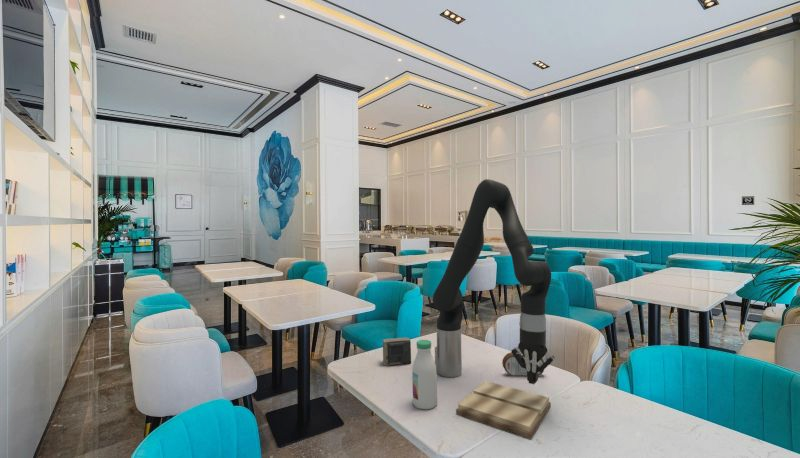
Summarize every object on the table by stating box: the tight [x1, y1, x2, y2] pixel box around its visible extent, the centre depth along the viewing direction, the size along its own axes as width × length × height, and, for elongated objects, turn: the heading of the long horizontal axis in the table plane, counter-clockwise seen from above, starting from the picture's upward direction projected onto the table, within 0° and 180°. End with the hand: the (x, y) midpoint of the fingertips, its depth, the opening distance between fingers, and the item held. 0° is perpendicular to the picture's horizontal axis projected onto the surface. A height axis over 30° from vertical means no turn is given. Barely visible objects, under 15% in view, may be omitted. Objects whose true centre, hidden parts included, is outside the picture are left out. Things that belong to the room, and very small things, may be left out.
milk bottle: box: [411, 339, 438, 410], centre depth 115 cm, size 8×8×20 cm
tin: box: [501, 352, 545, 377], centre depth 134 cm, size 15×3×8 cm, turn 84°
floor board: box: [455, 392, 552, 440], centre depth 110 cm, size 22×20×3 cm
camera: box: [382, 337, 412, 366], centre depth 148 cm, size 11×6×10 cm, turn 98°
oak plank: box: [472, 380, 550, 415], centre depth 115 cm, size 21×9×2 cm, turn 53°
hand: (532, 382), depth 111 cm, fingers closed
